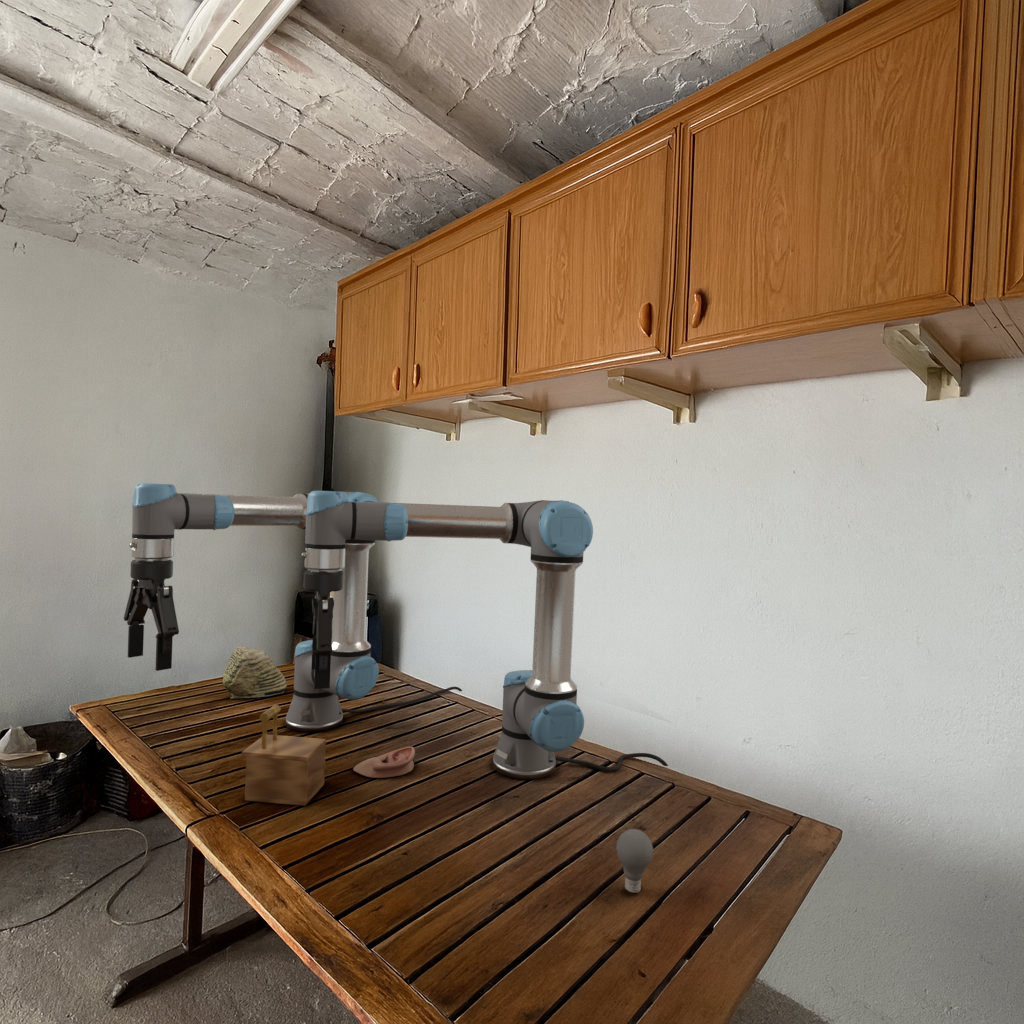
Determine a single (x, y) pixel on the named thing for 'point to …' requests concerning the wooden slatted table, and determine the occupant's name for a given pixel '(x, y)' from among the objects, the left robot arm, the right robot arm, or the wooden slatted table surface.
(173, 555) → the left robot arm
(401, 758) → the anatomical model
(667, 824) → the wooden slatted table surface
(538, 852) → the wooden slatted table surface
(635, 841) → the light bulb
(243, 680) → the fossil
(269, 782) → the chest
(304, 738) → the lid
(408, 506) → the right robot arm
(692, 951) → the wooden slatted table surface
